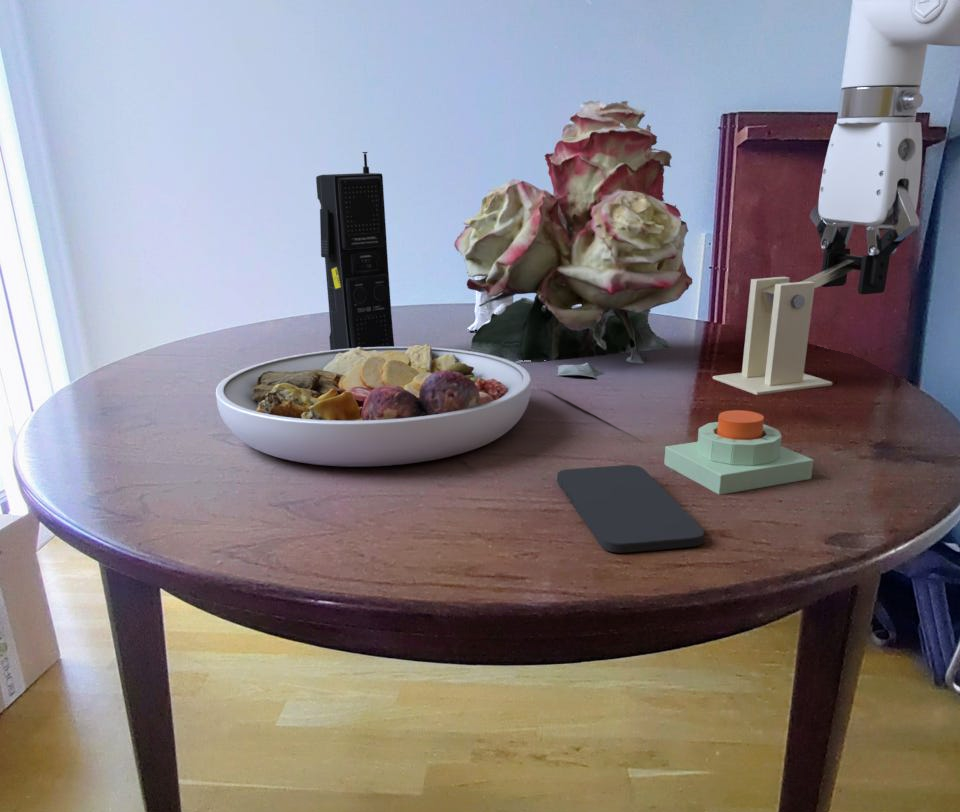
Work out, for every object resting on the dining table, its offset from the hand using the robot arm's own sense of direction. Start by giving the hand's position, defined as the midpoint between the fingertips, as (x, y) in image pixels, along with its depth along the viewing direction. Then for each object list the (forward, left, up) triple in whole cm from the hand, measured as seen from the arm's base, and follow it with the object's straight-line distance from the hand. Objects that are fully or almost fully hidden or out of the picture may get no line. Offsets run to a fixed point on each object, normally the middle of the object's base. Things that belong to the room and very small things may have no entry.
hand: (851, 287), depth 100 cm
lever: (+5, 0, 0) cm, 5 cm away
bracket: (+9, 0, -10) cm, 14 cm away
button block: (+29, +21, -10) cm, 38 cm away
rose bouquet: (+21, -21, -11) cm, 32 cm away
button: (+29, +21, -7) cm, 37 cm away
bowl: (+53, -4, -11) cm, 55 cm away
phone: (+42, +25, -10) cm, 50 cm away
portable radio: (+47, -34, -11) cm, 59 cm away
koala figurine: (+24, -46, -11) cm, 53 cm away
